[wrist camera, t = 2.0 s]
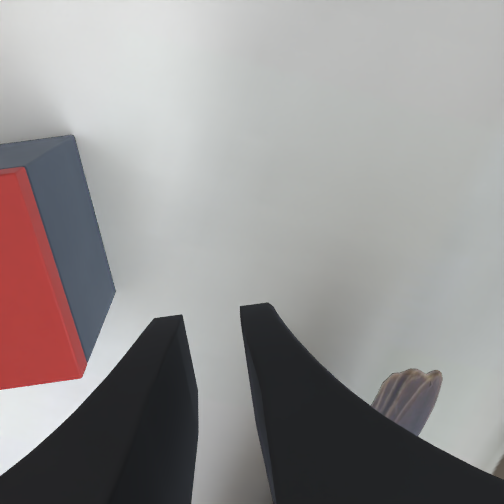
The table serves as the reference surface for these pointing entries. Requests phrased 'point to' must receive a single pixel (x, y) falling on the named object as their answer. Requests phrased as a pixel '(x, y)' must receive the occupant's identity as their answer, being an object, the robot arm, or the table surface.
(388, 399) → the decorative bird
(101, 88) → the table surface
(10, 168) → the two-tone lidded box
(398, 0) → the table surface
